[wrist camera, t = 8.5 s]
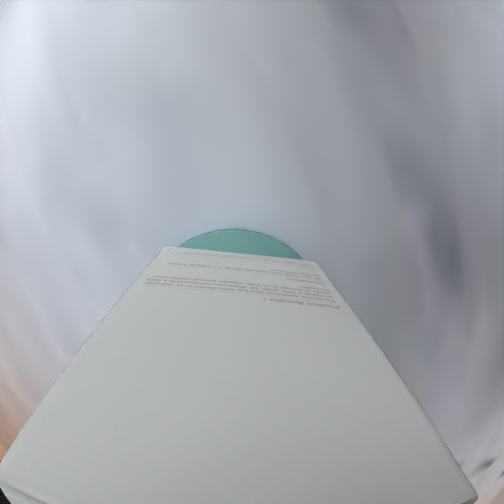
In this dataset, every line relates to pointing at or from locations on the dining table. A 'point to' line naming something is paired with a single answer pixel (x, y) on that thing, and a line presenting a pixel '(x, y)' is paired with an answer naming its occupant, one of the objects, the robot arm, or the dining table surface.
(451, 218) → the dining table surface
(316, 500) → the supplement box
